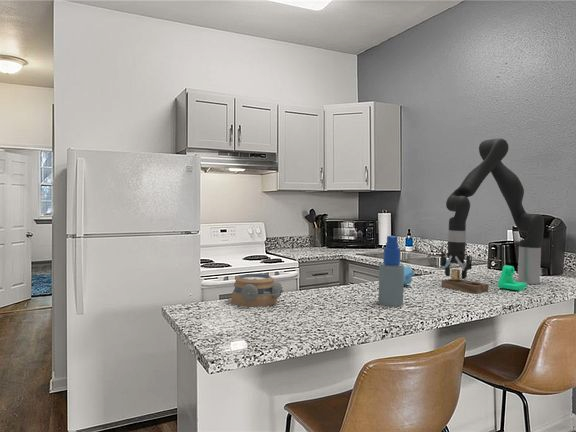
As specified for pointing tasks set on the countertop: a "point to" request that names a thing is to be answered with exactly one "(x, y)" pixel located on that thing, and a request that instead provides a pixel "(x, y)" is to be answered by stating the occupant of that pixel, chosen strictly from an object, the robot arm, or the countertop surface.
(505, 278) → the camera mount
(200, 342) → the countertop surface
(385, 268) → the spray bottle
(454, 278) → the bushing
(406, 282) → the teapot
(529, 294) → the countertop surface
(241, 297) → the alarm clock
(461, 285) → the jig
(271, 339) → the countertop surface
